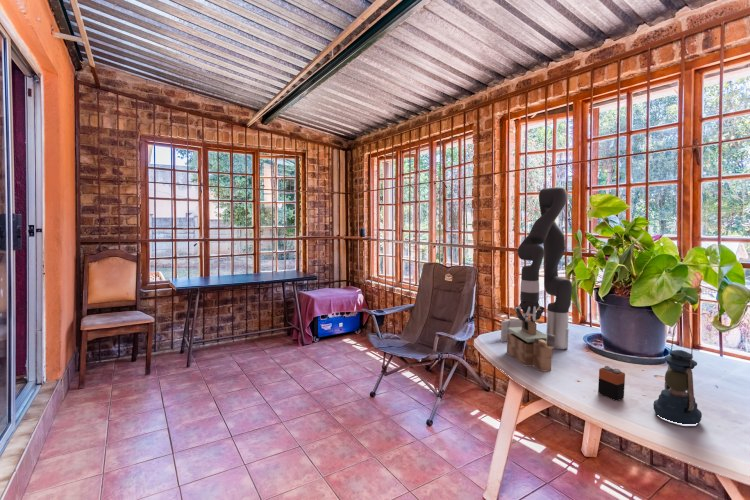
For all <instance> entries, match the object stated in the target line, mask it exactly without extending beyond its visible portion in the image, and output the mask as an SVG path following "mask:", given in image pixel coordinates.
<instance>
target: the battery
mask: <svg viewBox="0 0 750 500" xmlns="http://www.w3.org/2000/svg"><path fill="white" fill-rule="evenodd" d="M625 383H626V373H625V372H623V371H621V369H619V368H612V367H610V366H608V365H605V366H604V367H602V368H601V367H600V368H599V369H598V385H597V386H598V388H597V394H599V395H601V394H602V395H601V396H604V397H606V396H607V397H606V398H608V397H609V399H611V398H612V399H611V400H613V399H614V400H613V401H615V400H617V401H619V399H620V400H623V399H624V397H625ZM622 398H623V399H622Z"/></svg>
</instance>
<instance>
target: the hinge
mask: <svg viewBox="0 0 750 500" xmlns="http://www.w3.org/2000/svg"><path fill="white" fill-rule="evenodd" d="M500 324H501V327H500V328H501V330H500V342H502V343H503V342H507V333H512V332H510V331H509V330H508V328H513V327H522V320H520V319H519V318H505V319H503V321H501V322H500Z"/></svg>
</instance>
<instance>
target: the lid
mask: <svg viewBox="0 0 750 500" xmlns="http://www.w3.org/2000/svg"><path fill="white" fill-rule="evenodd" d="M527 322H528V330H525V329H524V328H523V321H522V327H513V328H508V330H509V331H510V332H512V333H513V334H515V335H516V336H518V337H520V338H521V339H523V340H525V341H526V342H534V339H535V338H537V339H538V340H542V338H545V339H546V341H547V335H546V333H544V332H542V331H541V330H538V329H537V322H535V323H534V322H532V321H530V319H528V321H527Z"/></svg>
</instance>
